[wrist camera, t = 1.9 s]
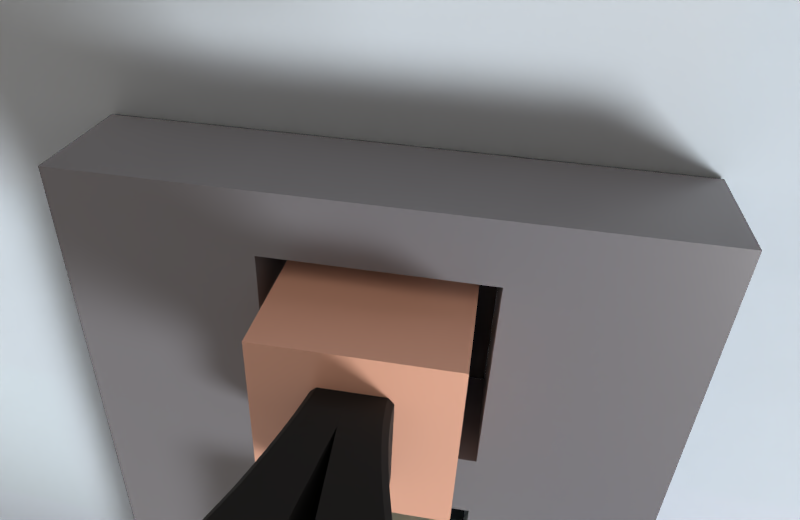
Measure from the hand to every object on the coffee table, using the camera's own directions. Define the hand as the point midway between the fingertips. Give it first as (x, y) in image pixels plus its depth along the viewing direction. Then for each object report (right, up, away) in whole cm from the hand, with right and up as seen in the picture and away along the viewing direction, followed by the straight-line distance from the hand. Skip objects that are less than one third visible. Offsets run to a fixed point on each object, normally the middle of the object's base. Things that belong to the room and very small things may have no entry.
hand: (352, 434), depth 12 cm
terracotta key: (0, +1, +2) cm, 3 cm away
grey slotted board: (0, -3, +7) cm, 7 cm away
